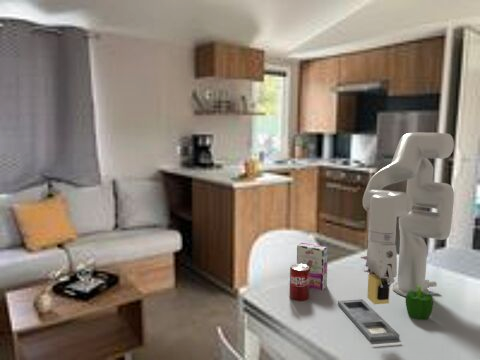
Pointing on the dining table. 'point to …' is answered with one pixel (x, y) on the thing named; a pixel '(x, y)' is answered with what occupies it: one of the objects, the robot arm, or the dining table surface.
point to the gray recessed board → (368, 321)
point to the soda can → (299, 282)
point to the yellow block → (375, 289)
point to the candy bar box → (314, 263)
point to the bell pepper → (419, 304)
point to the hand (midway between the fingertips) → (378, 294)
